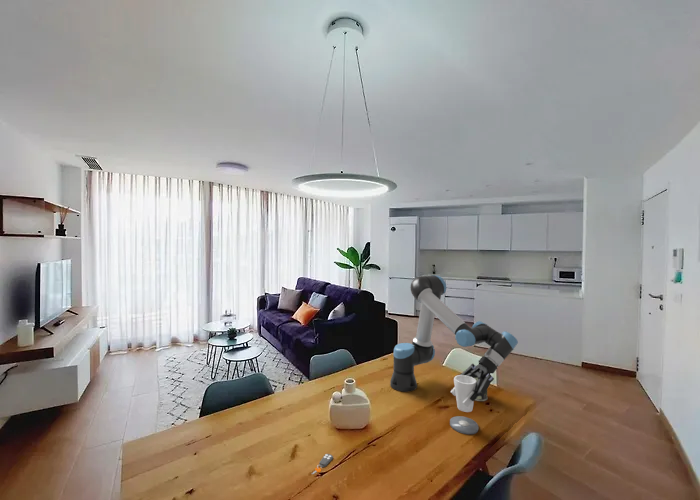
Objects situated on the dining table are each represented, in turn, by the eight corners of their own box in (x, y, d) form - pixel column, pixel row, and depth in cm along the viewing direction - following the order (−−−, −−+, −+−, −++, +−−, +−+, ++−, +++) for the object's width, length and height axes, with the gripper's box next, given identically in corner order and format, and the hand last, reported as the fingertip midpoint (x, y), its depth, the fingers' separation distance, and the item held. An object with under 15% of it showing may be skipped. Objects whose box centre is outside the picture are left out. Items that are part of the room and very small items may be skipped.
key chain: (325, 455, 117) (325, 451, 117) (333, 458, 116) (333, 454, 116) (306, 478, 106) (306, 474, 106) (315, 482, 104) (315, 478, 104)
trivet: (452, 432, 132) (452, 429, 132) (447, 417, 144) (447, 414, 144) (481, 435, 130) (481, 432, 130) (474, 420, 142) (474, 417, 142)
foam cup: (475, 405, 139) (475, 376, 139) (477, 415, 131) (477, 385, 131) (453, 401, 143) (454, 373, 142) (453, 411, 134) (453, 382, 134)
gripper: (513, 376, 129) (478, 418, 126) (480, 358, 150) (451, 393, 147) (502, 365, 128) (467, 406, 125) (471, 348, 149) (441, 383, 146)
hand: (458, 399), depth 136 cm, fingers closed on foam cup, 9 cm apart
